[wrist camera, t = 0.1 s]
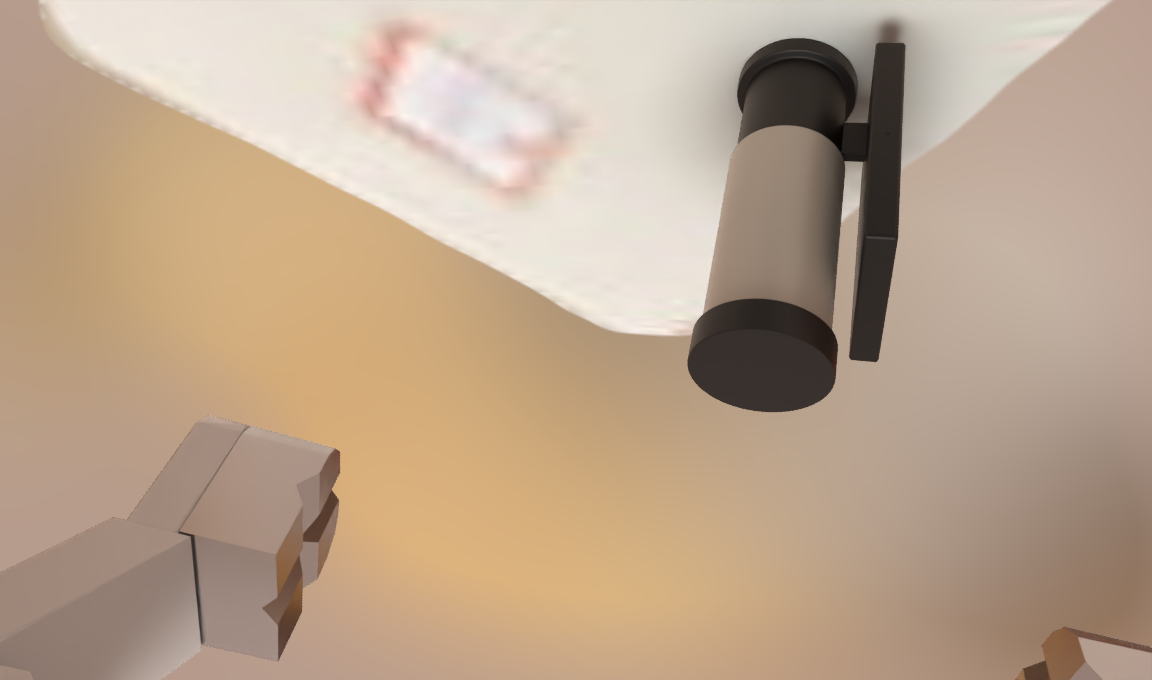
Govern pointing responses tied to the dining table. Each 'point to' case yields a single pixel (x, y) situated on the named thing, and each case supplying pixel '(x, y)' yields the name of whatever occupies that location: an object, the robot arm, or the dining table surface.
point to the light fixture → (799, 227)
